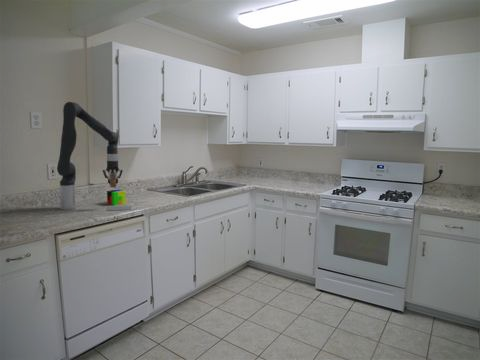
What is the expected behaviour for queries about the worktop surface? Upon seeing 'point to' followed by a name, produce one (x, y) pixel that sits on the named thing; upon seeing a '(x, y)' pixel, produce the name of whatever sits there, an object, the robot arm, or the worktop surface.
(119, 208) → the slate mat
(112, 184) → the walnut block
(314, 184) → the worktop surface
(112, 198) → the puzzle toy
